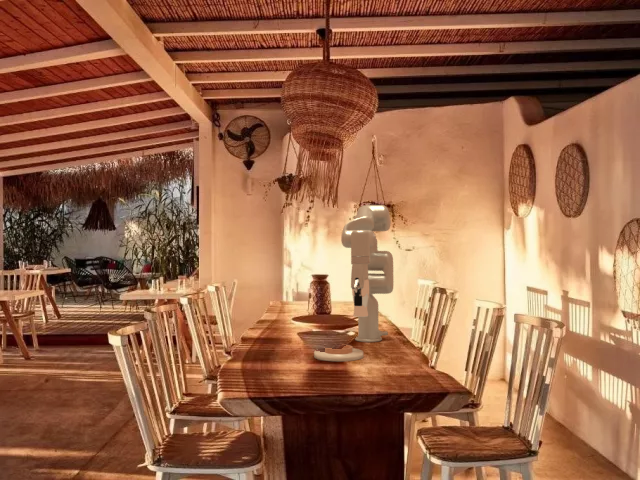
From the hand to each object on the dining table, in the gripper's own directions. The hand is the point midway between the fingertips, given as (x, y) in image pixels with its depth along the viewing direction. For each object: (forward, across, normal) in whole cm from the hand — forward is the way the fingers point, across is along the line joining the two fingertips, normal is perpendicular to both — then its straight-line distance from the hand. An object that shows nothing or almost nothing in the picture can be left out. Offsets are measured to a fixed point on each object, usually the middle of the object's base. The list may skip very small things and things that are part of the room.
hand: (360, 304), depth 245 cm
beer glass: (+5, 0, 0) cm, 5 cm away
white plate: (+21, +2, -9) cm, 23 cm away
